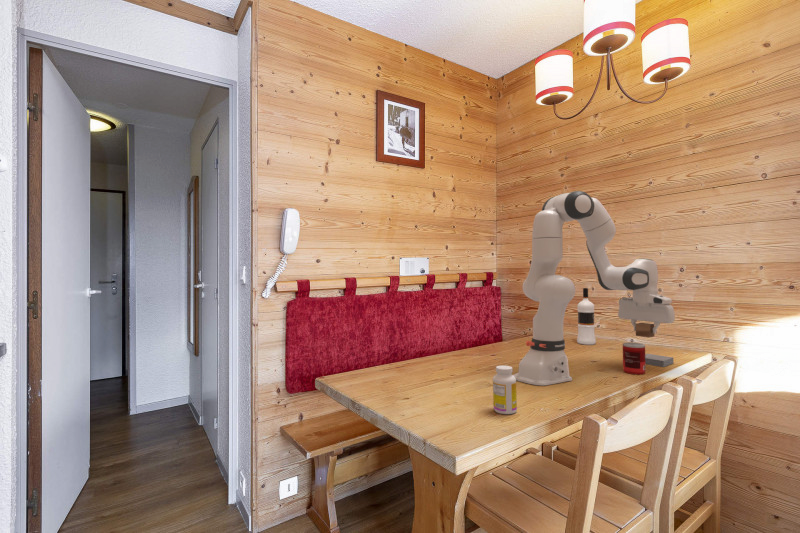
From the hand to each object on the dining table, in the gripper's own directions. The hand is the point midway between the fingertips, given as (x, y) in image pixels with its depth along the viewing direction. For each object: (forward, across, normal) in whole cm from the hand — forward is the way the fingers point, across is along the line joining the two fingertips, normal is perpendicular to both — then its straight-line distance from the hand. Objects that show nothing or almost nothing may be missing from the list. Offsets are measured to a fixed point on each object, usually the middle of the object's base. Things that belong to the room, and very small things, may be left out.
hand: (645, 332), depth 163 cm
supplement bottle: (+17, -4, -83) cm, 85 cm away
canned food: (+15, 0, -10) cm, 18 cm away
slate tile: (+14, -1, +12) cm, 19 cm away
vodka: (+15, -42, +31) cm, 54 cm away
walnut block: (+2, 0, 0) cm, 2 cm away
